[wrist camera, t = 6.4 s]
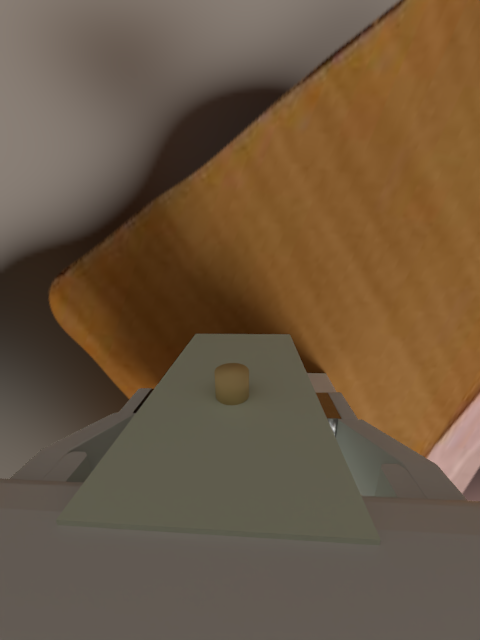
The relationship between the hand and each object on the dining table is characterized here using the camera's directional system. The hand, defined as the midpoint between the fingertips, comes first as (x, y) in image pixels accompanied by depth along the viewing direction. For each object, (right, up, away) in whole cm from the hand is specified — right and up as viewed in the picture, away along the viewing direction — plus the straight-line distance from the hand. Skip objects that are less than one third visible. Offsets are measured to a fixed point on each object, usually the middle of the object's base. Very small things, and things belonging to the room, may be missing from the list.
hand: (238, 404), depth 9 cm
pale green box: (0, +1, +3) cm, 3 cm away
